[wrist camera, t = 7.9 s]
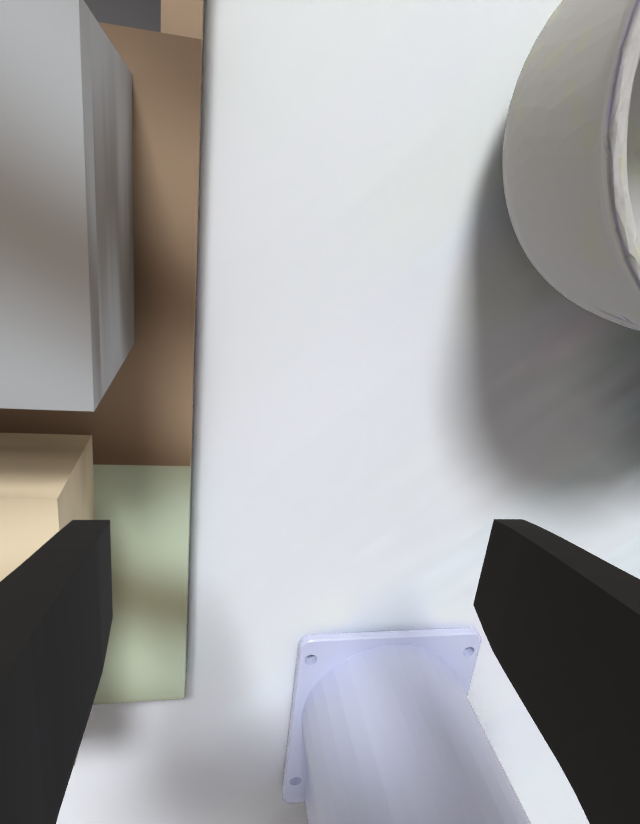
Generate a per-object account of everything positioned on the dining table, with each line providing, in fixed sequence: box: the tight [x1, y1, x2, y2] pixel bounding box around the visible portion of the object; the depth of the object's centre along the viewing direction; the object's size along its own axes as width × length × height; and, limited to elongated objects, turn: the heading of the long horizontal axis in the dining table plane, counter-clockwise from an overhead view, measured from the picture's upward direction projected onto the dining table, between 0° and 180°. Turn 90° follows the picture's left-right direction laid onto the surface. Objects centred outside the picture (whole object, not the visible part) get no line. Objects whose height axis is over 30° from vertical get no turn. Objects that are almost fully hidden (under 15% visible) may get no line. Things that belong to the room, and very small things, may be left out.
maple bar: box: [0, 433, 95, 765], centre depth 16 cm, size 9×4×4 cm, turn 174°
